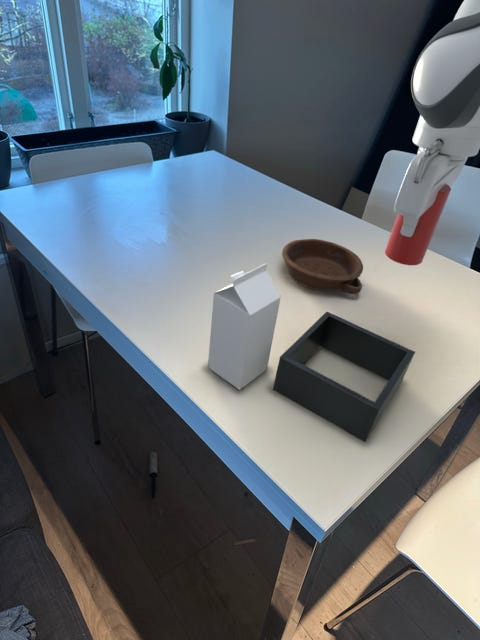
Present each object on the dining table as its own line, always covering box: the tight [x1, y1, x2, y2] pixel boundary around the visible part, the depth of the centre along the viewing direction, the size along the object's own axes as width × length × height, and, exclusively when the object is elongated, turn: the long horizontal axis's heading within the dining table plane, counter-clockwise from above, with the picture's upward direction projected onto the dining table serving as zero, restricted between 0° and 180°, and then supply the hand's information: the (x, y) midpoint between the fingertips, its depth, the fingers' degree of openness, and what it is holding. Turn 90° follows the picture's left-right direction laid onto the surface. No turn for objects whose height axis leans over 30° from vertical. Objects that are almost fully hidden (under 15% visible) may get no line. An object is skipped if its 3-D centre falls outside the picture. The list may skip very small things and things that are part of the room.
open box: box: [272, 311, 416, 443], centre depth 72 cm, size 16×16×7 cm
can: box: [384, 182, 452, 266], centre depth 69 cm, size 6×6×12 cm
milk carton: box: [207, 262, 282, 391], centre depth 69 cm, size 7×7×19 cm
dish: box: [281, 238, 364, 295], centre depth 100 cm, size 18×22×5 cm
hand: (414, 226), depth 69 cm, fingers closed on can, 6 cm apart
